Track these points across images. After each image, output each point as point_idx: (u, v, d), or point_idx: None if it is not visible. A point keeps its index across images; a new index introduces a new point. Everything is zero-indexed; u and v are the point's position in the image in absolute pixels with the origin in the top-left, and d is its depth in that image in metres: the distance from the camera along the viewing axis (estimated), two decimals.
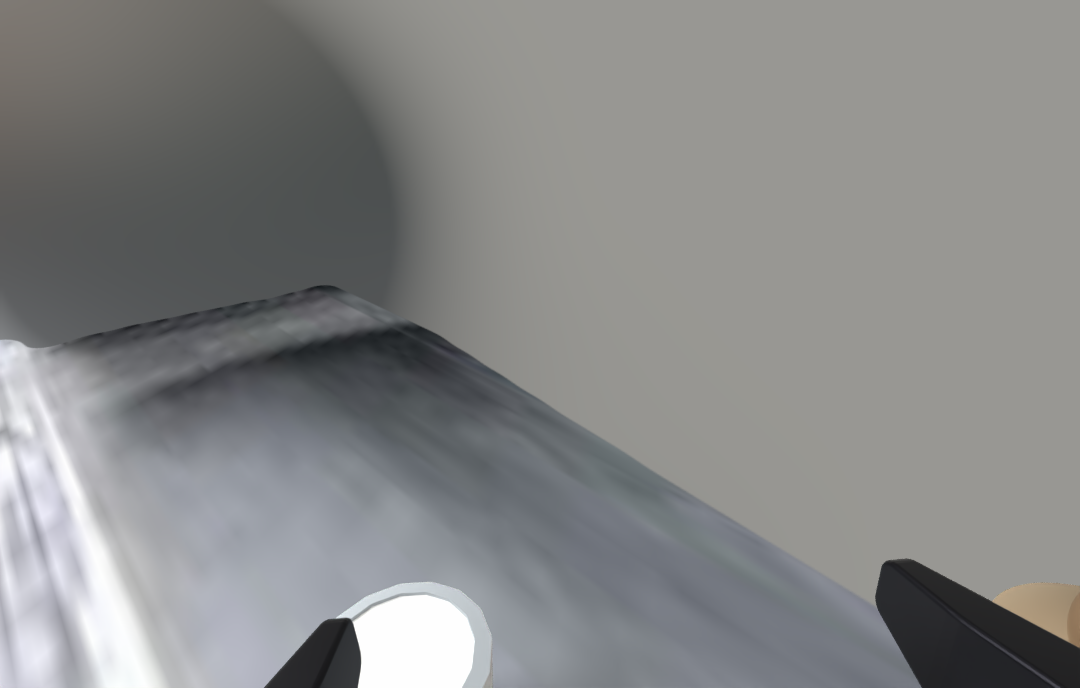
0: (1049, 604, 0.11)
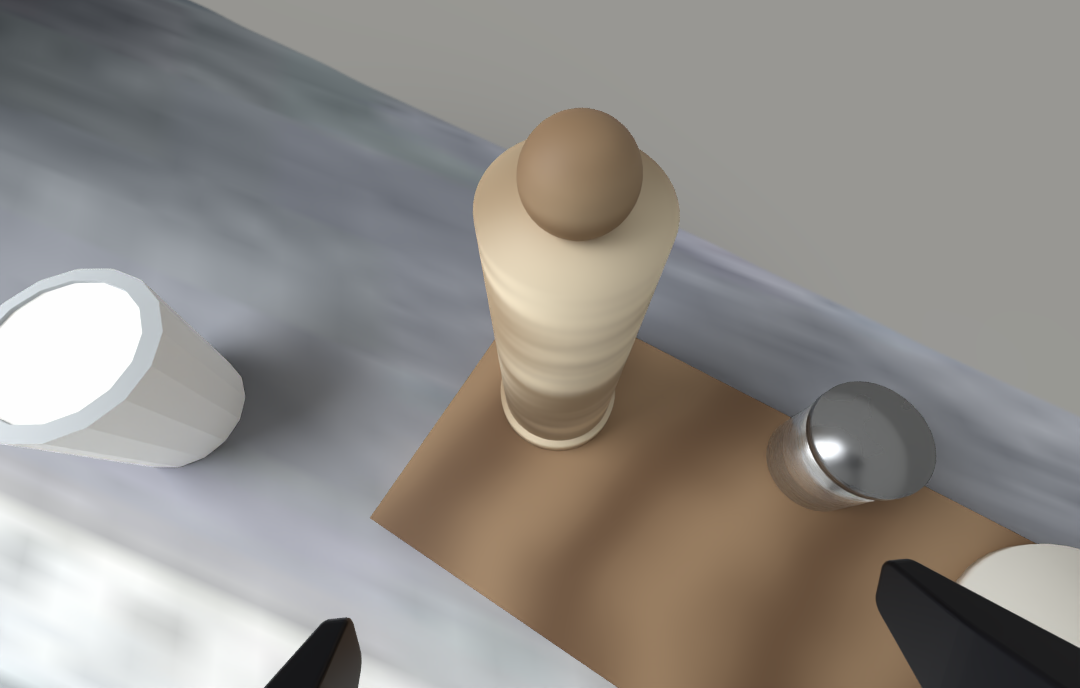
0: None
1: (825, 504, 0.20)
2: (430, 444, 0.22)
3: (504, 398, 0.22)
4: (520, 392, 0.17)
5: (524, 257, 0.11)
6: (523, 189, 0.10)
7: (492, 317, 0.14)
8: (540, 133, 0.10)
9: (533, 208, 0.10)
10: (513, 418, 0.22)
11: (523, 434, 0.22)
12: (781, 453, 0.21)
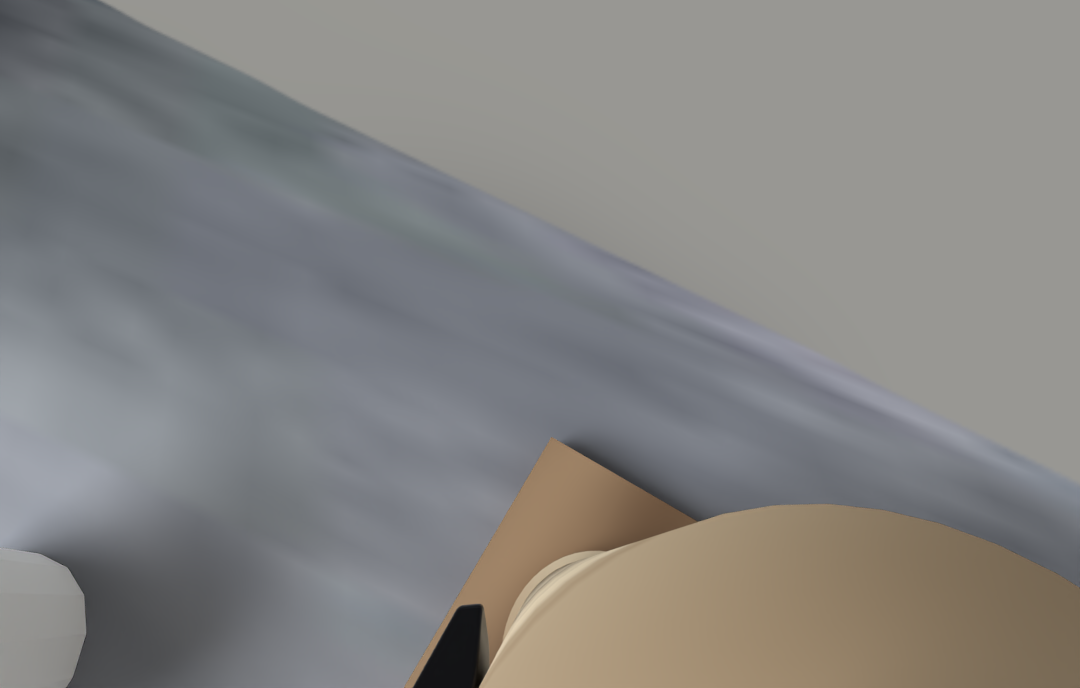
0: (667, 661, 0.03)
1: None
2: None
3: None
4: None
5: None
6: None
7: None
8: None
9: None
10: None
11: None
12: None
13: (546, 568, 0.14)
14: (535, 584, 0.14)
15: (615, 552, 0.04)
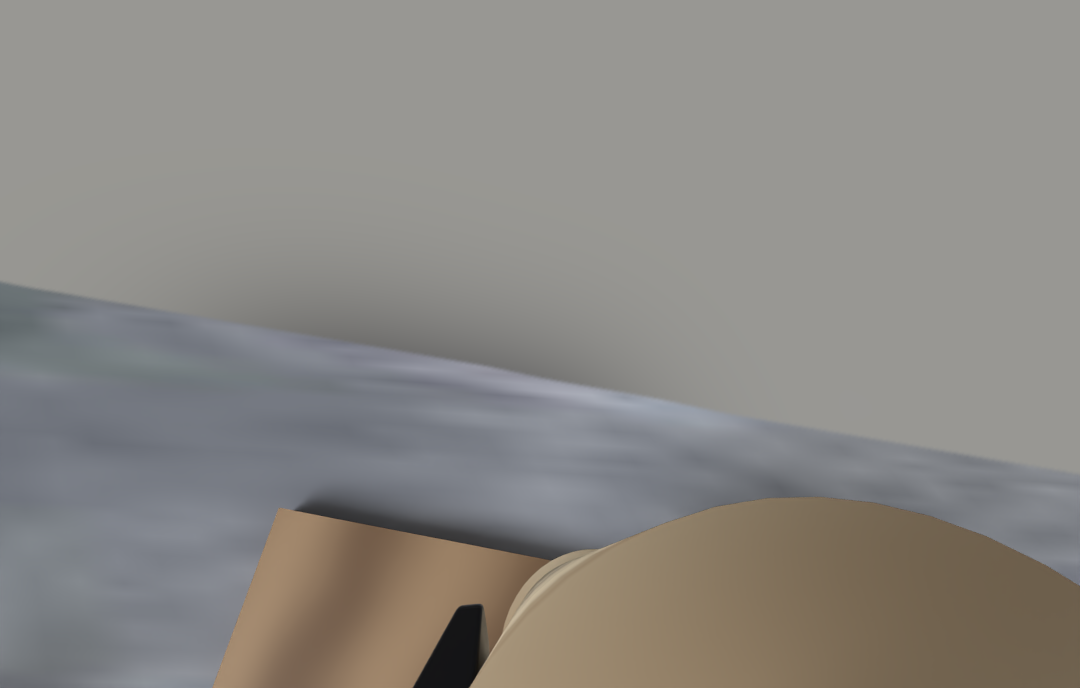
0: (658, 652, 0.03)
1: None
2: None
3: None
4: None
5: None
6: None
7: None
8: None
9: None
10: None
11: None
12: None
13: (544, 567, 0.14)
14: (533, 582, 0.14)
15: (609, 547, 0.04)
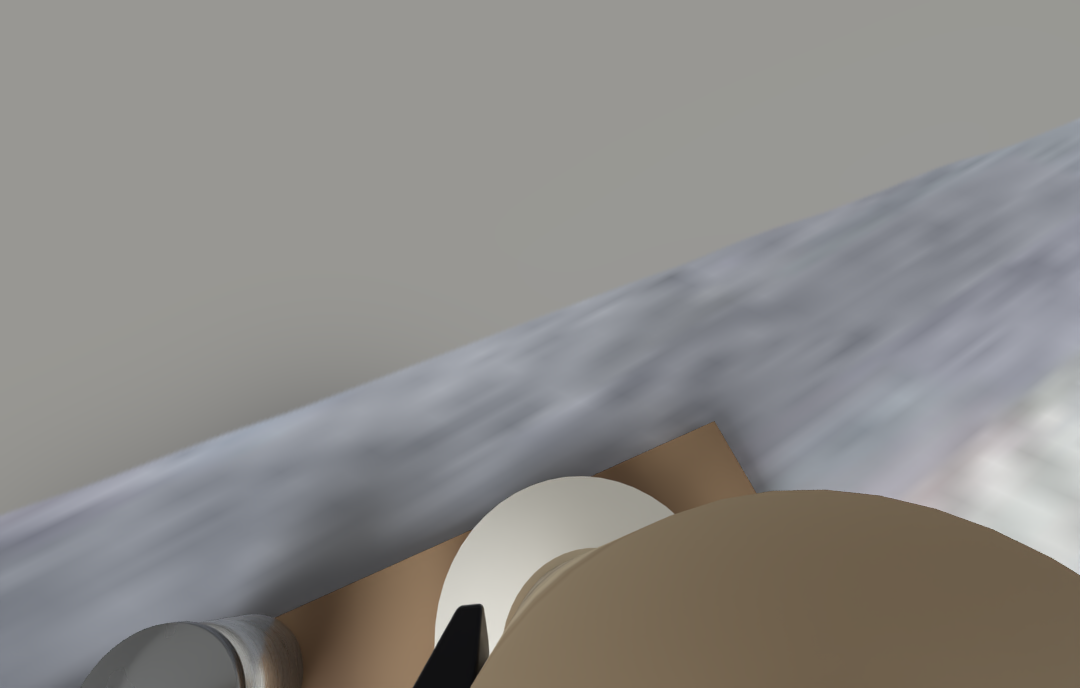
0: (664, 644, 0.03)
1: None
2: None
3: None
4: None
5: None
6: None
7: None
8: None
9: None
10: None
11: None
12: None
13: (546, 565, 0.14)
14: (535, 581, 0.14)
15: (613, 541, 0.04)
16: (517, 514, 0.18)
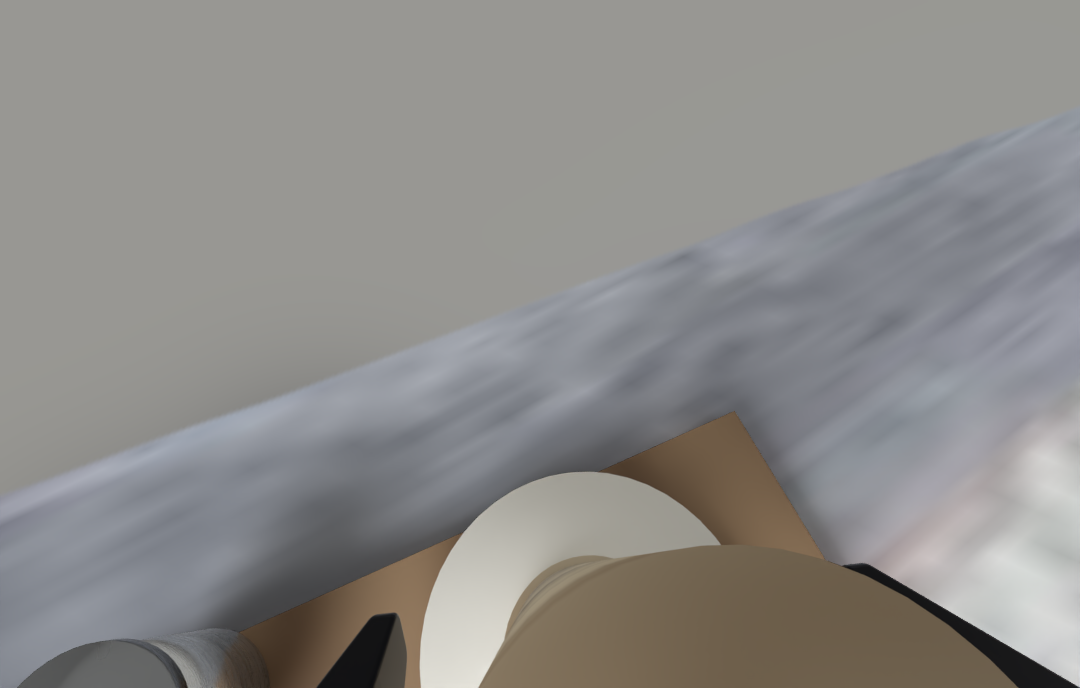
0: (617, 661, 0.04)
1: None
2: None
3: None
4: None
5: None
6: None
7: None
8: None
9: None
10: None
11: None
12: None
13: (545, 571, 0.15)
14: (534, 586, 0.15)
15: (590, 574, 0.05)
16: (515, 514, 0.16)
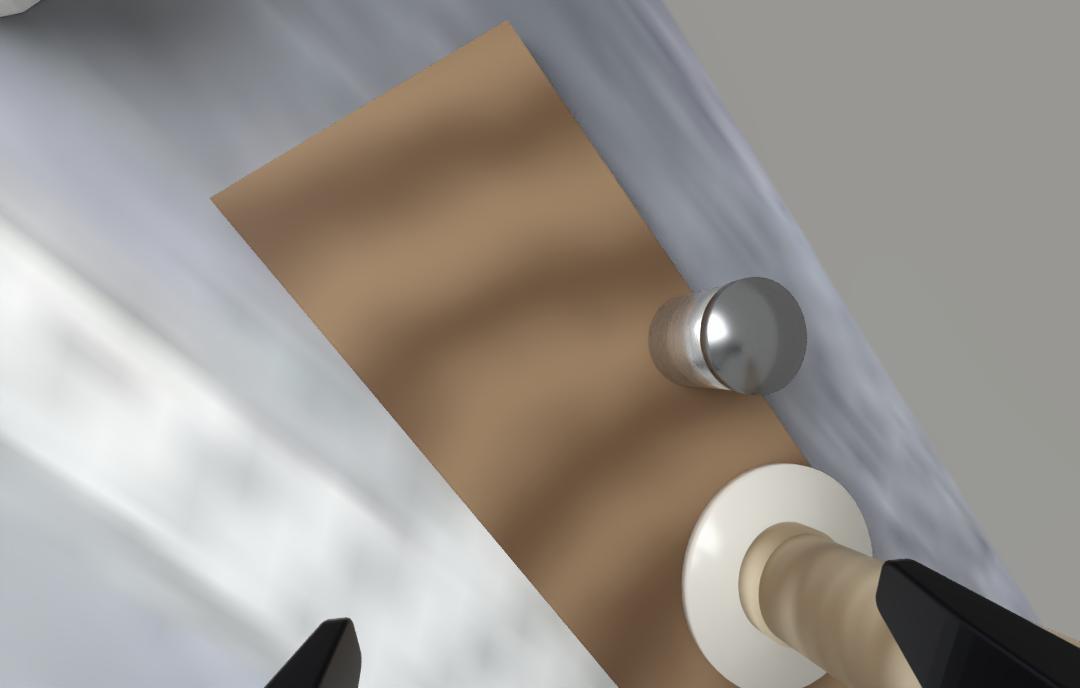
0: None
1: (681, 377, 0.20)
2: (313, 148, 0.18)
3: (782, 540, 0.21)
4: (861, 627, 0.17)
5: None
6: None
7: None
8: None
9: None
10: (768, 558, 0.21)
11: (755, 572, 0.21)
12: (669, 318, 0.20)
13: (833, 540, 0.22)
14: (824, 537, 0.22)
15: None
16: (837, 500, 0.24)
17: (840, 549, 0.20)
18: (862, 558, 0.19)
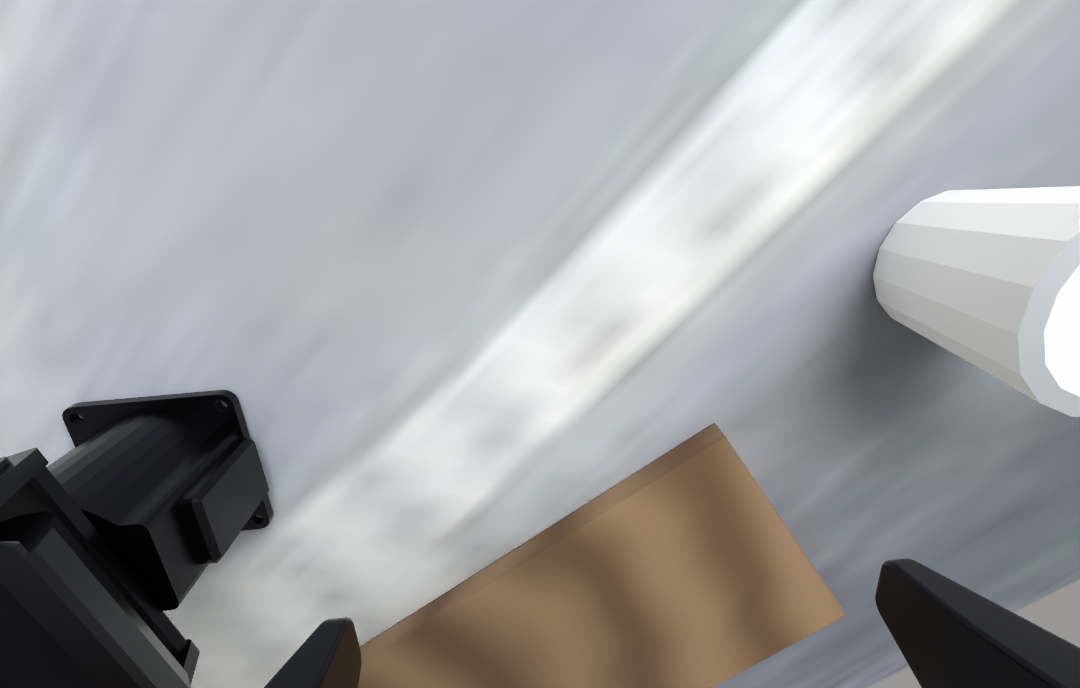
0: None
1: None
2: (758, 499, 0.23)
3: None
4: None
5: None
6: None
7: None
8: None
9: None
10: None
11: None
12: None
13: None
14: None
15: None
16: None
17: None
18: None
